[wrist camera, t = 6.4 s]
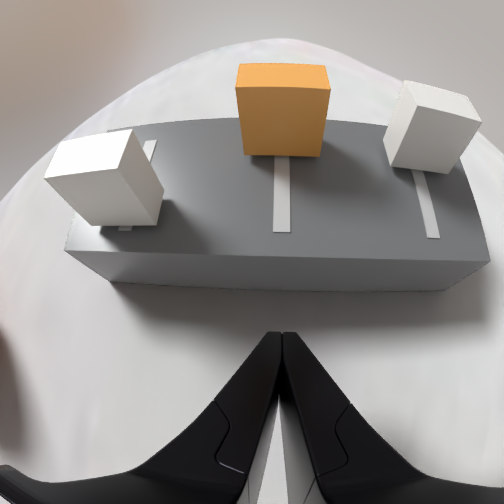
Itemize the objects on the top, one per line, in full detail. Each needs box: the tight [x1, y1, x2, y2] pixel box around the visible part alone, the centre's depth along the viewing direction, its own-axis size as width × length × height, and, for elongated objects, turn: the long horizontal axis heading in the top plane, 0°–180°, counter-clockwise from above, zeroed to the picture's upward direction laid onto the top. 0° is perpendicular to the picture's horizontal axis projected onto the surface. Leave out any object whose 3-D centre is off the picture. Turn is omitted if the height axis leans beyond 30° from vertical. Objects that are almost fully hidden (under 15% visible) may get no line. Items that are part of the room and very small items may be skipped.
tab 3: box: [383, 80, 482, 174], centre depth 11 cm, size 2×4×4 cm, turn 87°
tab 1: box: [44, 129, 164, 226], centre depth 11 cm, size 2×4×4 cm, turn 87°
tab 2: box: [235, 63, 331, 157], centre depth 12 cm, size 2×4×4 cm, turn 87°
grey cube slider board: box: [64, 118, 490, 291], centre depth 16 cm, size 8×21×5 cm, turn 87°
